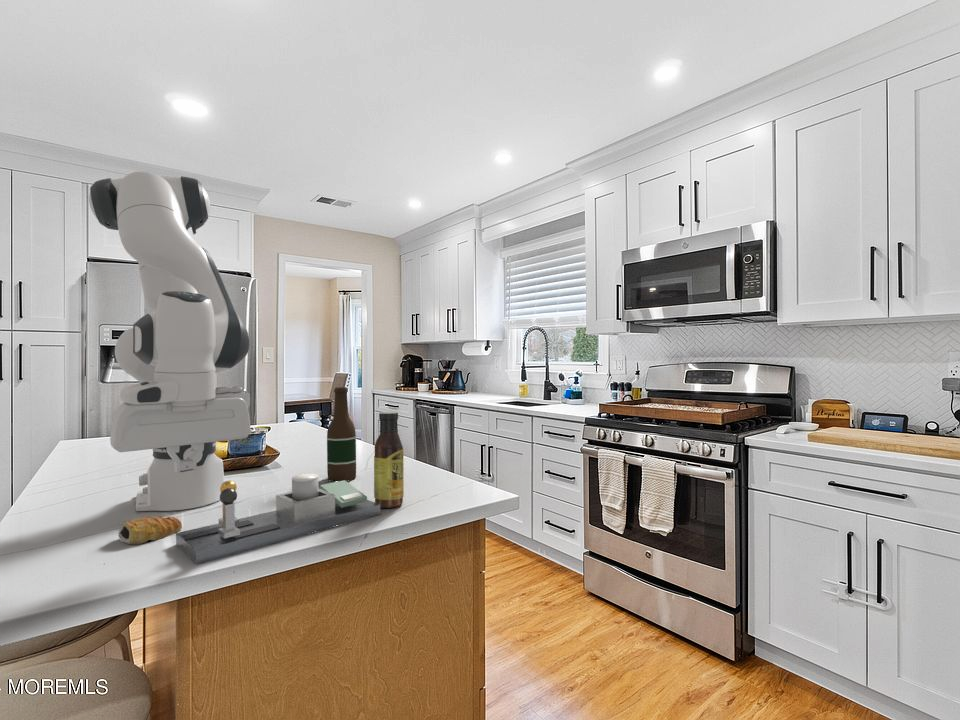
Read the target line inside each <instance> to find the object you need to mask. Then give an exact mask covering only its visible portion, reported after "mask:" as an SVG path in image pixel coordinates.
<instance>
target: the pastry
mask: <svg viewBox="0 0 960 720" xmlns="http://www.w3.org/2000/svg"><path fill="white" fill-rule="evenodd" d="M182 528H183V526H182V522H181V520H180V519H179V518H177V517H174V516H167V517H164V516H161V515H160V516H148V515H147V516H144V517H141V518H135V519H132V520H126V521H123V522H122V523H121V527H119V530H118V535H117V536H118V538H119V541H120V543H124V542H125V543H126V544H128V545H132V544H133V545H140V544H145V543H147V542H148V541H150V540H151V541H157V540H160V539H161V538H166V537H169V536H171V535H174V534H176V533H178V532H180V531H181V530H182ZM120 539H121V540H120Z"/></svg>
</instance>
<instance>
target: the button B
mask: <svg viewBox="0 0 960 720" xmlns="http://www.w3.org/2000/svg"><path fill="white" fill-rule="evenodd" d="M318 488H319V475H318V474H317V473H303V474H297V475H293V476H292V477H291V492H292V499H293V500H296V501H301V500H305V499H310V498H314V497H319V489H320V488H319V489H318Z"/></svg>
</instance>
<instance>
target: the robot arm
mask: <svg viewBox="0 0 960 720" xmlns="http://www.w3.org/2000/svg"><path fill="white" fill-rule="evenodd" d="M88 202H89V207H90V210H91V212H92V213H93V216H95V218H96V220H97V221H98V223H99V224H100V225H102V226H103V227H105V228H106V229H108V230H114V231H118V234H119V237H120V238H119V239H120V243H121V244H122V246H123V249H124V250H125V252H126V253H127V254H128V255H129V256H130V257H132V258H133V259H134V260H135V261H136V262H138V268H139V269H138V270H139V275H140V276H139V277H140V281H141V285H142V291H143V298H144V301H145V304H146V305H147V306H148V308H149V309H150V311H152V313H147V314H145V315H143V316H142V317H140V318H139V319H138V320H137V321H135V323H133V325H132V328H128V329H125V331H123V333H121V334H120V336H119V337H118V339H117V340H116V343H115V345H114V357H115V360H116V363H117V364H118V365H119V367H120V368H121V369H122V370H123V372H125V373H126V374H127V375H129V376H131V377H133V378H134V379H135V380H136V381H137V382H139V383H135V384H132V385H129V386H125V387H123V388H121V389H120V391H119V397H120V399H121V401H122V403H121V404H119V405H118V406H117V407H116V408H115V410H114V412H113V417H112V421H111V422H112V423H111V428H110V438H109V439H110V442H109V443H110V446H111V447H112V449H114V450H115V451H117V452H118V453H128V452H136V451H144V450H152V457H153V459H152V462H151V464H150V465H149V467H148V469H147V473H143V474H141V475H139V476H138V486H139V487H143V486H147V487H143V488H142V490H141V491H137V492H136V498H135V499H136V500H135V501H136V502H135V511H136V512H145V511H146V512H147V511H148V512H149V511H158V512H160V511H161V512H165V511H167V512H168V511H169V512H170V511H171V512H172V511H180V510H187V509H188V510H189V509H194V508H195V509H196V508H199V507H203V506H208V505H210V504H214V503H216V502H218V501H220V493H221V491H220V487H221V485H222V483H224V482H225V475H224V461H223V459H222V458H221V457H219V456H217V455H216V453H215V452H216V451H217V447H216V446H217V443H218V442H225V441H233V440H234V441H235V440H242V439H247V438H248V437H249V435H250V434H251V418H250V412H249V408H250V406H251V395H250V393H249V392H248V391H247V390H246V389H244V388H242V387H241V386H232V387H225V386H223V387H216V386H217V385H216V380H217V379H216V378H217V375H219V374H223V373H227V372H231V371H234V370H235V369H237V367H238V366H239V365H240V363H241V362H242V361H243V360H244V358H245V357H246V356H247V355H248V353H249V349H250V335H249V332H248V330H247V327H246V326H245V323H244V322H243V321H242V319H241V317H240V316H239V315H238V313H237V310H236V308H235V306H234V304H233V302H232V300H231V297H230V295H229V293H228V290H227V288H226V286H225V283H224V280H223V278H222V276H221V273H220V271H219V269H218V267H217V265H216V263H215V261H214V259H213V257H212V255H211V254H210V252H209V251H208V250H207V249H205V248H204V247H202V246H201V245H200V244H199V243H197V241H196V240H195V239H194V238H193V237H192V235H196V234H197V230H198V229H200V228H201V227H203V226H204V225H205V224H206V223H207V221H208V219H209V214H210V211H211V201H210V197H209V194H208V192H207V191H206V189H205V187H204V186H203V184H202V182H200V181H199V180H198V179H196V178H193V177H189V176H182V175H181V176H180V177H175V176H168V175H167V176H165V175H164V176H163V175H159V174H156V173H153V172H149V171H143V170H142V171H134V172H131V173H128V174H126V175H125V176H124V177H120V178H116V179H112V178H111V177H108V178H103V179H100V180H97V181H94V183H93V184H92V185H91V186H90V188H89V195H88ZM190 228H191V231H192V235H191V234H190V232H189V231H188V230H189V229H190Z"/></svg>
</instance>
